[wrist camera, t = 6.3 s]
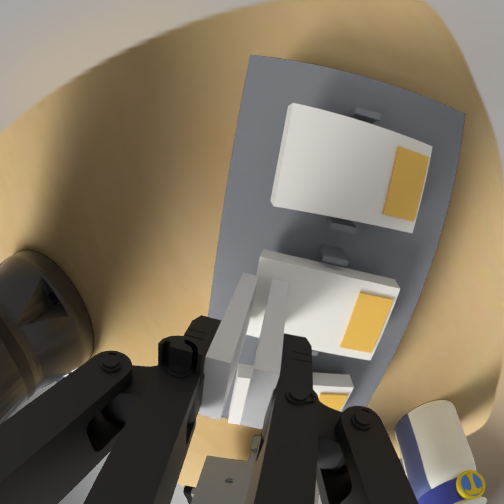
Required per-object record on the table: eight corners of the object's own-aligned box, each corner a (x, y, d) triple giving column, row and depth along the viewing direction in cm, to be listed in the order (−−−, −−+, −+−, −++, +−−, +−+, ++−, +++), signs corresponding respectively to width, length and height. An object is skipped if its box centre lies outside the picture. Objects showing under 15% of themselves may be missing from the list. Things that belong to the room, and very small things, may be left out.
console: (213, 364, 27) (187, 425, 19) (259, 80, 19) (237, 42, 12) (341, 389, 26) (347, 454, 18) (426, 121, 18) (481, 110, 10)
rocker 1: (270, 201, 14) (274, 207, 12) (287, 106, 12) (294, 102, 11) (400, 226, 15) (413, 234, 13) (419, 145, 13) (434, 146, 12)
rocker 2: (248, 322, 17) (243, 335, 16) (263, 249, 15) (259, 257, 14) (367, 348, 16) (370, 362, 15) (394, 279, 15) (401, 290, 13)
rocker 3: (229, 409, 19) (227, 424, 17) (238, 363, 17) (237, 378, 16) (327, 418, 19) (330, 431, 18) (349, 374, 17) (354, 388, 16)
